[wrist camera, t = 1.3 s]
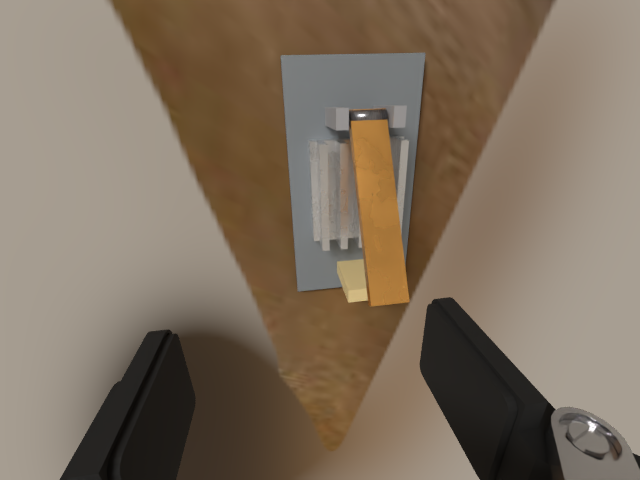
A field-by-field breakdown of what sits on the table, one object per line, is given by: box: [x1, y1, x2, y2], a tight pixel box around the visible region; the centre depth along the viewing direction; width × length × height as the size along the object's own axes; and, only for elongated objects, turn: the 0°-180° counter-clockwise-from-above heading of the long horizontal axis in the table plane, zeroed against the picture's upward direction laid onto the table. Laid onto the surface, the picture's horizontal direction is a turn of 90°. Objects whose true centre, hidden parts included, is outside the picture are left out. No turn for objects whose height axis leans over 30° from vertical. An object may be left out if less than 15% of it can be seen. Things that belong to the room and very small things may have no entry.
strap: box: [349, 108, 409, 306], centre depth 24 cm, size 16×3×1 cm, turn 1°
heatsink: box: [308, 135, 409, 251], centre depth 30 cm, size 10×9×4 cm
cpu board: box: [281, 53, 425, 302], centre depth 30 cm, size 24×13×7 cm, turn 2°
